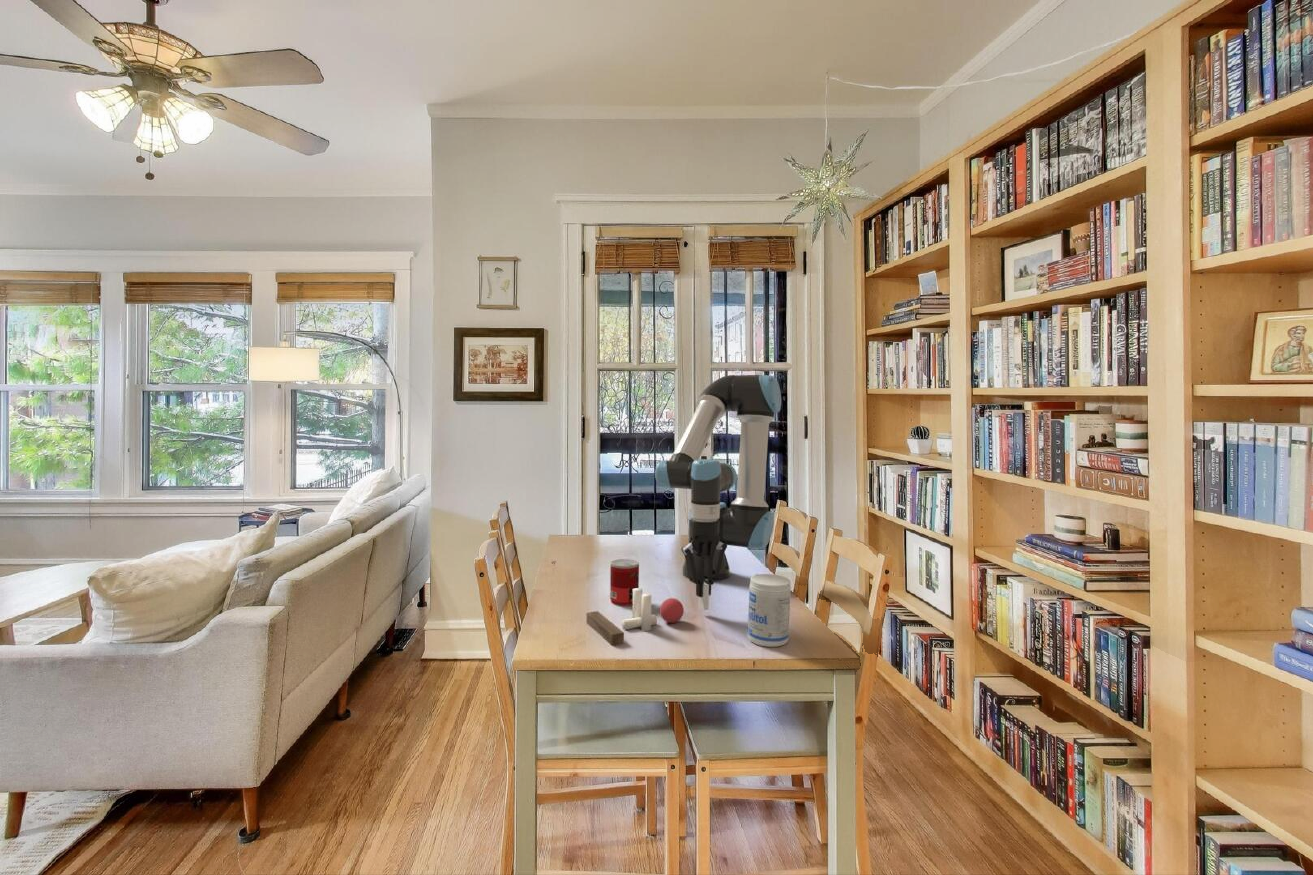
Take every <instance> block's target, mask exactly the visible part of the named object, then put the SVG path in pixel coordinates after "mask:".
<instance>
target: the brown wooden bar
mask: <svg viewBox="0 0 1313 875" xmlns="http://www.w3.org/2000/svg"><path fill="white" fill-rule="evenodd" d="M586 624H587V625H588V626H590V627H591V628H592V629H593V630H594V631H595V632H597V633H598V634H599V635H600V636H601V637H602V638H603V639H604V640H605V641H606V642H608V643H609V645H611V646H615V645H621V644H624V643H625V632H624V631H623V630H621V629H620V628H619V627H618V626H616V624H614V623H613V622H612V621H611V620H609V619H608V618H607V617H605V615H603V614H602V613H601V612H600V611H598V610H595V611H590V612H586Z"/></svg>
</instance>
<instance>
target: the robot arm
mask: <svg viewBox="0 0 1313 875" xmlns="http://www.w3.org/2000/svg"><path fill="white" fill-rule="evenodd" d="M779 384H780V383H779V381H778V379H776V377H775V376H773V375H766V374H747V375H746V374H743V375H741V374H739V375H737V374H736V375H734V374H730V375H729V374H728V375H724V376H722V377H720V378H718V379H716V380H714V381H712V382H711V383H710V384H709V385H708V386H707V387H706V388H705V389H704V390H703V391H702V392H701V394H699V397H698V399H697V400H696V403H695V408H696V410H695V411H694V413H693V414H692V416H691V419H690V420H689V422H688V424H687V427H686V428H685V430H684V432H683V434H682V436H681V438H680V440H679V442H678V444H677V446H676V448H675V449H674V451H673V453H672V455H671V457H670V459H669V460H668V459H665V460H661V461H659V462H657V464H656V467H655V471H654V475H655V480H656V481H655V482H656V484H658V486H660V487H663V488H670V489H681V490H682V489H685V490H690V497H691V499H690V509H689V512H688V513H689V516H688V544H687V545H685V546H682V547H681V552H682V553H683V555H684V563H683V565H682V575H683V576H684V577H687V578H688V580H689V581H690V582H691V583H694V584H695V595H696V597H698V601H697V602H698V604H697V607H698V608H699V609H700V610H702V611H706V610H709V602H710V601H709V600H710V598H709V596H711V595H712V586H713V585H714V583H715V582H717V581H721V580H725V579H727V578H729V577H730V573H731V572H730V571H731V569H730V565H729V562H728V558H727V555H726V550H727V548H728V546H730V547H731V546H732V547H739V548H747V549H750V550H751V549H758V550H760V549H764V548H765V547H766V546H768V544H769V542H770V540H771V537H772V535H773V529H774V524H775V519H774V518H775V515H774V513H773V512H771V511H769V505H768V503H767V502H766V501H765V491H766V490H765V489H766V476H767V475H766V474H767V473H766V472H767V458H768V457H767V456H768V442H769V428H770V424H771V422H772V421H774V420H775V414H777V413H779V412H780V411H781V409H782V408H781V407H782V394H781V389H780V388H781V387H780V385H779ZM727 412H735V413H736V417H737V419H738V420H739V421H740V424H741V425H740V439H739V440H740V441H739V451H738V452H739V453H738V469H737V470H738V472H737V470H736V469H735V467H734V466H733V465H732V464H729V463H726V462H724V463H723V462H721V461H720V460H717V459H710V458H709V459H708V458H707V459H706V458H705V459H704V458H702V459H700V458H701V455H702V454H703V452H704V450H705V447H706V445H707V443H708V441H709V439H710V438H711V435H712V433H713V432H714V429H715V427H716V424H718V423H717V422H718V421H719V420H720V419H722V418H723V417H724V415H725V413H727ZM736 483H737V485H736V497H735V499H734V500H733V501H731V504H730V507H727V504H726V503H725V502H722V501H721V493H722V492H725V491H728V490H730V489H731V488H733V486H734V485H735V484H736Z"/></svg>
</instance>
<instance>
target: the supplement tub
mask: <svg viewBox="0 0 1313 875" xmlns="http://www.w3.org/2000/svg"><path fill="white" fill-rule="evenodd" d="M791 587H792V586H791V580H790V579H789V578H787V577H785V576H783V575H778V574H771V573H759V574H755V575H753V576H751V578H750V582H749V590H748V592H749V593H748V615H747V616H748V617H747V618H748V619H747V638H748V639H749V641H750V642H752V643H753V644H755V645H758V646H762V647H768V648H777V647H782V646H785V645H786V644H787V643H788V641H789V636H790V635H789V634H790V633H789V631H790V630H789V629H790V627H789V626H790V616H791V615H790V614H791V613H790V612H791V611H790V610H791V594H792V593H791V589H792V588H791Z"/></svg>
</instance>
